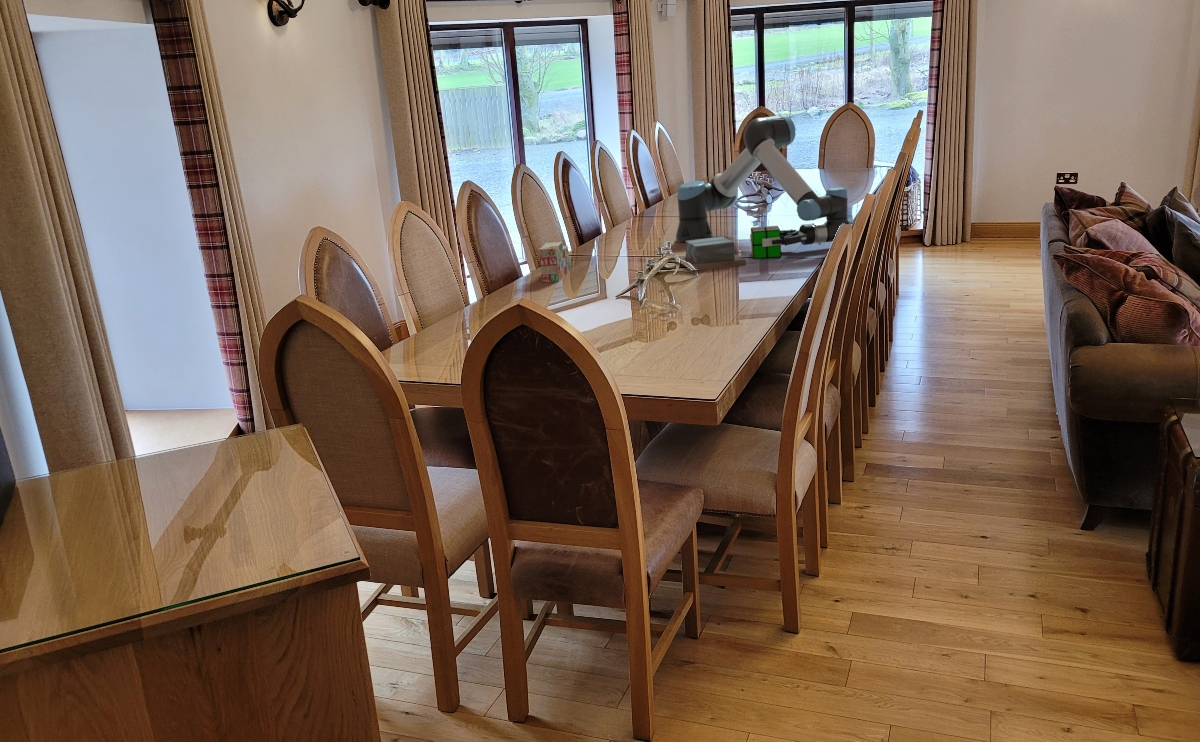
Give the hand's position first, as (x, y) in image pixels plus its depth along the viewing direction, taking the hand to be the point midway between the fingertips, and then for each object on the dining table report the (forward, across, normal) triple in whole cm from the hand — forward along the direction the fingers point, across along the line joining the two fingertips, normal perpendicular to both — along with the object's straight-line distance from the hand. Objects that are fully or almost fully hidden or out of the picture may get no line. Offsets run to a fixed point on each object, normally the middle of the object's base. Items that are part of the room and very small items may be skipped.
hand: (756, 240), depth 340 cm
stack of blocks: (+73, +8, -6) cm, 74 cm away
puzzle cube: (-4, 0, -6) cm, 7 cm away
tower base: (+18, -2, -6) cm, 19 cm away
